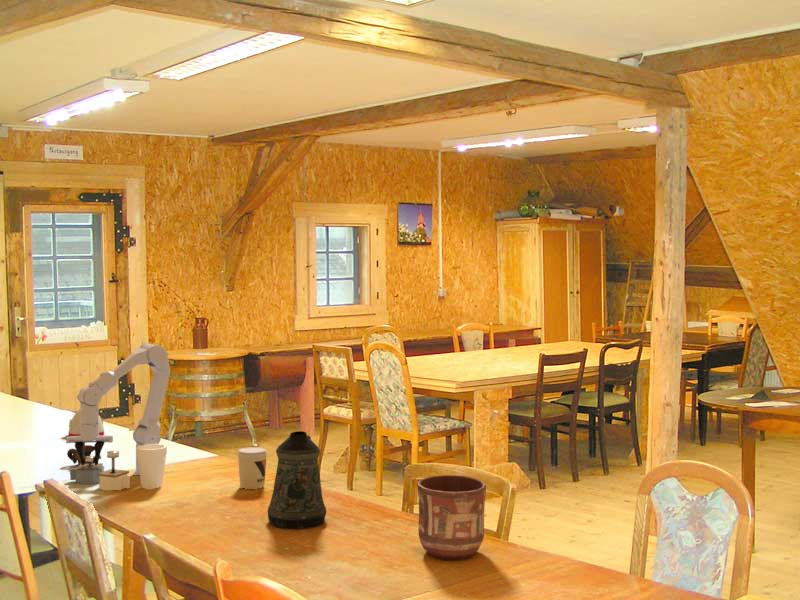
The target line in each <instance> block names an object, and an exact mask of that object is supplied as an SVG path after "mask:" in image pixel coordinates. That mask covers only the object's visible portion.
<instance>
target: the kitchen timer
mask: <svg viewBox="0 0 800 600" xmlns="http://www.w3.org/2000/svg"><path fill="white" fill-rule="evenodd" d="M103 419H104V418H102V417H101V416H100V415H99V435H104V436H105V428H104V420H103ZM69 436H81V428H80V409H78V410H77V411H76V412H75V413H74V415H73V417H72V418H70V419H69V423H68V437H69Z"/></svg>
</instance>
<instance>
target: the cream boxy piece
mask: <svg viewBox="0 0 800 600" xmlns="http://www.w3.org/2000/svg"><path fill="white" fill-rule="evenodd" d="M129 473H130V470H124V469H123V470H122V469H116V468H115V473H112V468H110V469H108V470H104V472H100V473H97V475H98V476H99V483H98V489H99V488H100V489H102V490H101V491H103V490H119V491H122V490H121V489H123V490H125V489H124V488H126V489H130V488H131V476H130V475H128V474H129ZM100 489H99V490H100Z"/></svg>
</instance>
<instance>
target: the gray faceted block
mask: <svg viewBox="0 0 800 600" xmlns="http://www.w3.org/2000/svg"><path fill="white" fill-rule="evenodd" d="M103 464H104V463H102V462H101V463H99V462H98V464H97V465H95V463H94V464H91V467H88V464H84V465H81V464H78V466H77V467H75V468H74V467H72V468H71V467H70V470H69V471H70V473H69V474H70V479H69V480H70V481H75V484H79V483H80V485H92V484H91V483H95V484H98V483H97V482H99V476H98V475H97V473H100V472H104V471H105V466H104V465H103Z"/></svg>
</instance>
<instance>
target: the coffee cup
mask: <svg viewBox="0 0 800 600" xmlns="http://www.w3.org/2000/svg"><path fill="white" fill-rule="evenodd" d="M267 454H268V451H267V449H266V448H264V447H257V446H256V447H255V446H251V447H250V446H249V447H243V448H240V449H239V450H238V452H237V458H238V473H239V474H238V476H239V487H240V489H242V488H245V489H244V490H247V489H255V490H259V489H258V488H261V489H263V488H265V483H266V470H267V469H266V467H267ZM262 487H263V488H262Z"/></svg>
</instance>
